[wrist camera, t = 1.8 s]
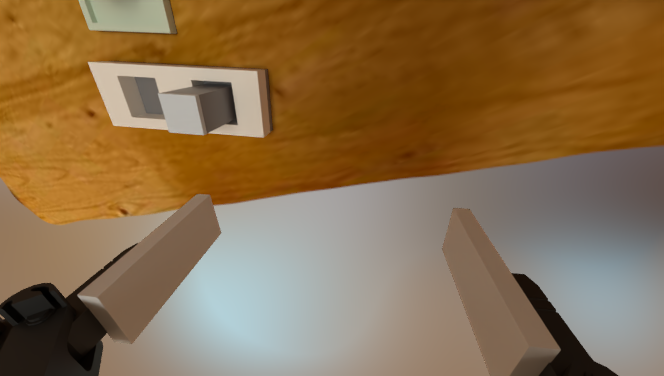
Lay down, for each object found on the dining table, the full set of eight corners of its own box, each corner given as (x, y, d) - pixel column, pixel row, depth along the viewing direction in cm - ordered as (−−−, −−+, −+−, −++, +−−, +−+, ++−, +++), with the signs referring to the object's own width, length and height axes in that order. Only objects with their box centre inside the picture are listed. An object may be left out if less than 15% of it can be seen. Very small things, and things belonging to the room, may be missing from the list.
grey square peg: (208, 83, 32) (157, 93, 25) (236, 84, 32) (194, 95, 24) (214, 113, 34) (169, 132, 27) (241, 115, 34) (203, 135, 26)
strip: (112, 60, 34) (87, 61, 30) (267, 69, 32) (257, 71, 28) (134, 119, 37) (113, 125, 34) (272, 130, 35) (263, 137, 32)
